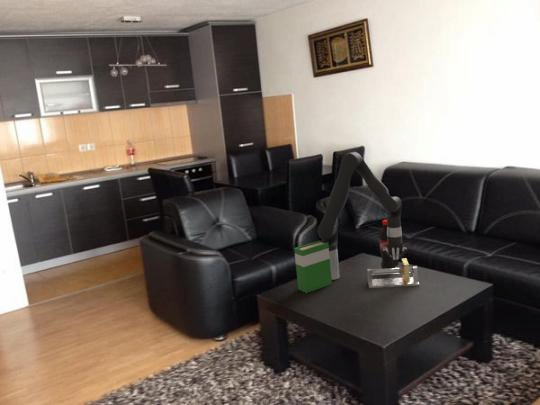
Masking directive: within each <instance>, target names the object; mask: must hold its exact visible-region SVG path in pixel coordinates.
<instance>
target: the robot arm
mask: <svg viewBox="0 0 540 405" xmlns="http://www.w3.org/2000/svg"><path fill="white" fill-rule="evenodd" d="M355 171H356V172H357V173H358V174H359V175H360V176H361V177H362V179H363V181H364V182H365V185H366V186H367V188H368V189H369V190H370V191H371V192H372V194H374V196H375V197H376V198H377V199H378V201H379V202H380V204H381V205H382V207H383V208H384V209H385V211H387V212H388V215H387V217H386V220H387V241H388V245H387V248H385V249H383V251H384V253H385V254H386V255H387V256H388V257H389V258H390V259H393V265H394V266H396V267H398V266H399V260H400V259H402V258H403V257H404V256H405V254H406V253H407V251H408V248H407V247H405V246H404V244H403V235H402V234H403V233H402V221H401V216H402V206H403V205H402V200H401V198H400V197H398V196H391V194H390V193H389V189H388V187H387V186H385V184H384V183H383V182H382V181H381V179H379V178H378V177H377V176H376V175H375V174H374V172H373V171H372V169H371V168H370V167H369V166H368V163H366V162H365V159H364V158H363V157H362V155H361V154H360V153H358V152H357V151H351V152H347V153H345V154H344V155H343V156H342V159H341V161H340V165H339V171H338V174H337V177H336V179H335V182H334V184H333V187H332V190H331V192H330V194H329V198H328V202H327V204H326V208H325V212H324V215H323V217H322V219H321V221H320V224H319V225H318V227H317V235H318V237H319V238H320V239H321V243H328V245H329V257H330V269H331V281H334V280H337V279H339V278H340V277H341V276H340V267H339V265H340V264H339V254H338V253H339V252H338V241H339V239H338V237H339V236H338V228H337V225H336V222H337V219H338V217H339V216H340V214H341V212H342V211H343V209H344V207H345V205H346V203H347V201H348V197H349V195H350V194H349V193H350V185H351V184H350V183H351V180H352V177H353V174H354V173H355ZM388 250H389V251H390V252H391V253H392V256H391V255H390V254H389V253H388Z"/></svg>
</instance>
